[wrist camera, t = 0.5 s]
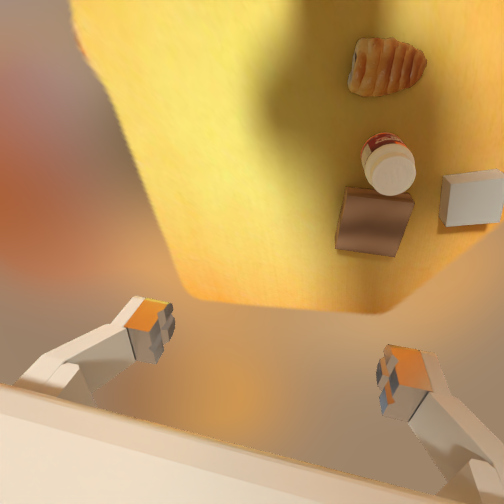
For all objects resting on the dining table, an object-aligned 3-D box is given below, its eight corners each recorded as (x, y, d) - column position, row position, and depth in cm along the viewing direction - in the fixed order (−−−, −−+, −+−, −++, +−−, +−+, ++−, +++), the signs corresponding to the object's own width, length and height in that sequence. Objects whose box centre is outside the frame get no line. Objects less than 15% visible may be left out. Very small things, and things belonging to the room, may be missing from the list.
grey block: (442, 175, 46) (451, 184, 43) (496, 168, 44) (509, 177, 41) (438, 215, 50) (445, 226, 46) (487, 210, 48) (499, 222, 44)
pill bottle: (407, 132, 44) (428, 152, 34) (397, 173, 47) (413, 201, 38) (363, 130, 45) (372, 150, 36) (356, 171, 48) (363, 198, 39)
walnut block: (346, 186, 50) (347, 195, 47) (409, 193, 48) (414, 203, 45) (334, 237, 55) (335, 248, 52) (390, 245, 54) (394, 257, 51)
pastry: (430, 38, 38) (439, 36, 35) (413, 97, 42) (420, 101, 38) (354, 37, 39) (356, 36, 36) (344, 95, 43) (346, 98, 40)
